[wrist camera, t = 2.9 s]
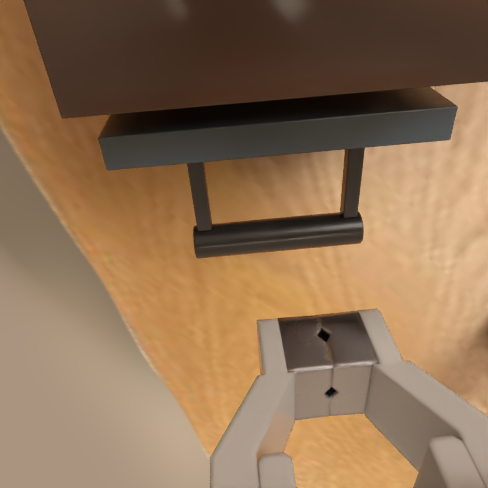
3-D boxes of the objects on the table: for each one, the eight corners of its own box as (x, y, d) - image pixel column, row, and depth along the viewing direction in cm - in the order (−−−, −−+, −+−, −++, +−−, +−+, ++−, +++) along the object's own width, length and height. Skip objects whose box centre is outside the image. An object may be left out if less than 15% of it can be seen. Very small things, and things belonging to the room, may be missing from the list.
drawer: (373, 176, 23) (424, 252, 18) (153, 196, 23) (137, 279, 18) (439, -342, 13) (609, -543, 7) (43, -313, 13) (-83, -499, 7)
